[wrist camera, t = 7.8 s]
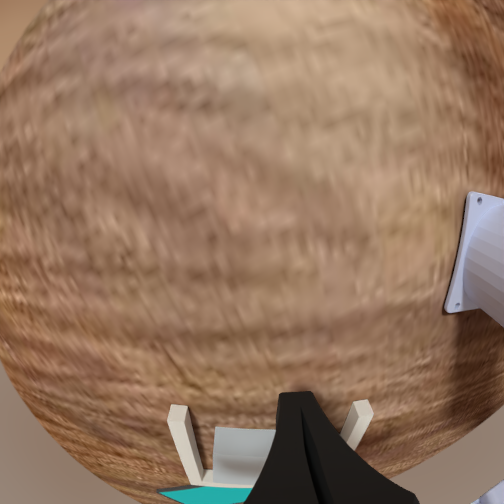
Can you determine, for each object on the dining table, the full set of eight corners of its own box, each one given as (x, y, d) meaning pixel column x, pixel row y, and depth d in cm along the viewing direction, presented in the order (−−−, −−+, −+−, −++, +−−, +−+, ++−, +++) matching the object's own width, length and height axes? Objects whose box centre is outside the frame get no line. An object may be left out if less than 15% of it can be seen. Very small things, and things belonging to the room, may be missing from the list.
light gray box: (328, 424, 19) (335, 452, 16) (310, 458, 21) (314, 482, 18) (216, 423, 18) (212, 453, 16) (215, 457, 20) (213, 482, 17)
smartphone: (155, 492, 23) (251, 474, 20) (156, 487, 24) (251, 468, 21) (196, 509, 25) (290, 491, 22) (196, 504, 26) (289, 485, 23)
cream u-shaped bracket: (367, 399, 17) (373, 414, 16) (333, 468, 21) (336, 480, 20) (171, 404, 17) (167, 420, 16) (192, 472, 21) (191, 484, 19)
